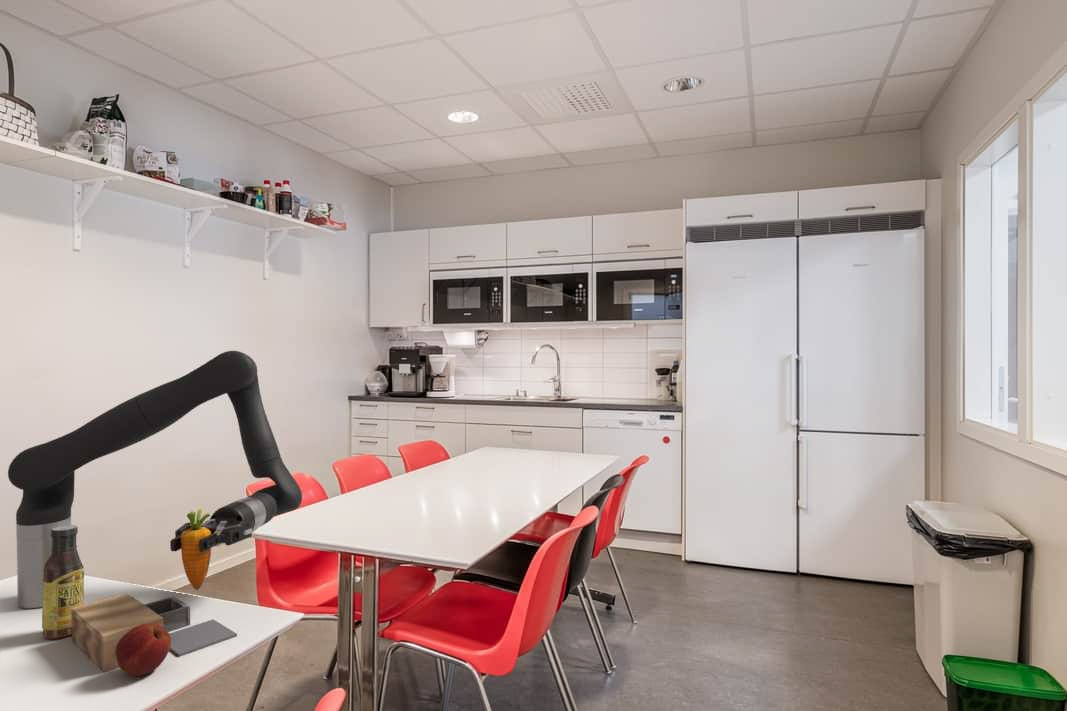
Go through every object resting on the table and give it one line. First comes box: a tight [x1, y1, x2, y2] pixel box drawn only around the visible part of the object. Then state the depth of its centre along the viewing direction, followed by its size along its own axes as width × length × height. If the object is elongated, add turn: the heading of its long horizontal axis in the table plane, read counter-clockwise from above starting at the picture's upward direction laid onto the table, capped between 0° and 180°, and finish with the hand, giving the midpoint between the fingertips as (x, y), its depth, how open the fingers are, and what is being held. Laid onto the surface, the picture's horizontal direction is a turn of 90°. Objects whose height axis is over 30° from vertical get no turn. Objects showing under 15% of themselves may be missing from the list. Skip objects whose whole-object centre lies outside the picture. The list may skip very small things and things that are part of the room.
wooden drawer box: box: [71, 592, 191, 673], centre depth 115 cm, size 18×16×6 cm
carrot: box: [180, 508, 212, 591], centre depth 115 cm, size 5×5×15 cm
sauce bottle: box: [41, 524, 85, 640], centre depth 118 cm, size 7×6×20 cm
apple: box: [115, 623, 171, 677], centre depth 103 cm, size 7×8×8 cm
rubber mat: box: [169, 618, 238, 657], centre depth 115 cm, size 10×10×1 cm
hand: (187, 546), depth 113 cm, fingers closed on carrot, 4 cm apart
